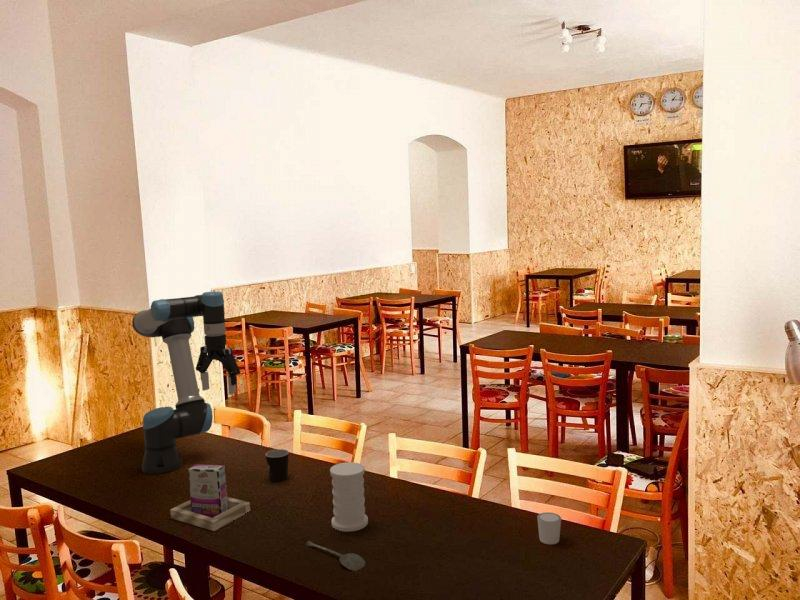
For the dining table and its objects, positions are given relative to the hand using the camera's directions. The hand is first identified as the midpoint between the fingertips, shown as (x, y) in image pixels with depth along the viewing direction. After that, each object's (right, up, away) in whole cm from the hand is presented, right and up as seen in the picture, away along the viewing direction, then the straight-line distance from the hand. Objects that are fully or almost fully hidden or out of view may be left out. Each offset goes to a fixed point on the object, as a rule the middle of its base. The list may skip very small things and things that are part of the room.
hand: (219, 391), depth 241 cm
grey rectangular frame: (+4, -38, -23) cm, 44 cm away
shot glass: (+110, -37, -47) cm, 126 cm away
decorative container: (+50, -37, -32) cm, 71 cm away
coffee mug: (+21, -34, +8) cm, 40 cm away
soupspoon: (+48, -40, -53) cm, 82 cm away
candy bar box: (+3, -38, -22) cm, 44 cm away
